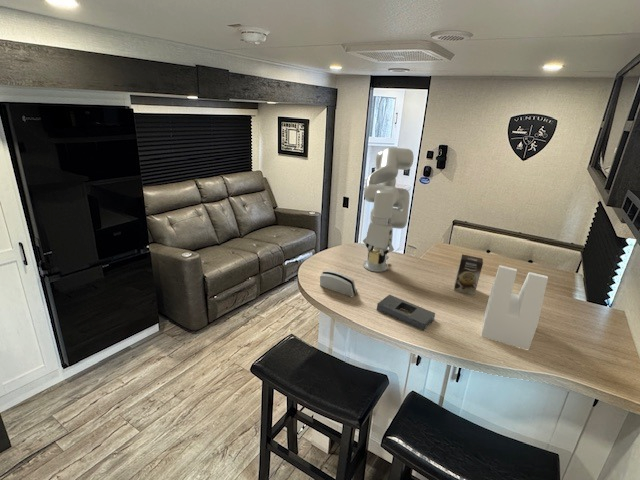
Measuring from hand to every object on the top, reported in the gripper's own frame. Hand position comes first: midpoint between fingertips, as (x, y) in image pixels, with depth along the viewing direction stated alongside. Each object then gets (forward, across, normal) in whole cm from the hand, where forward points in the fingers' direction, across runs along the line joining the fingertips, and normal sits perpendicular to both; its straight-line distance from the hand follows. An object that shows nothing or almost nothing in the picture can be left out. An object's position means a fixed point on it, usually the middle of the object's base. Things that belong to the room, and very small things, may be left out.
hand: (375, 260), depth 149 cm
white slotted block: (+16, -52, -12) cm, 55 cm away
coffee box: (+16, -30, -33) cm, 47 cm away
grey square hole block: (+15, -19, +6) cm, 25 cm away
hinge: (+16, +12, +9) cm, 22 cm away
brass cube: (0, 0, 0) cm, 0 cm away
